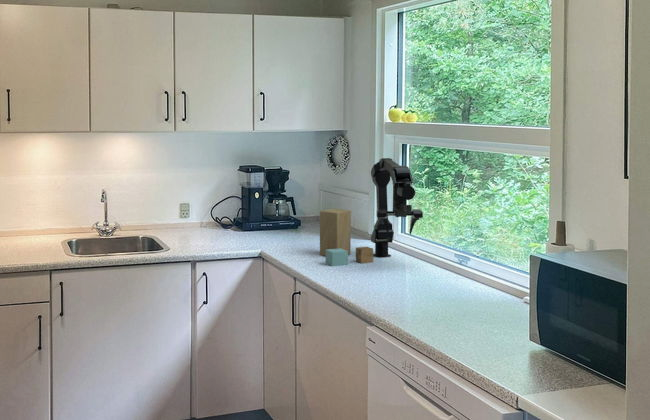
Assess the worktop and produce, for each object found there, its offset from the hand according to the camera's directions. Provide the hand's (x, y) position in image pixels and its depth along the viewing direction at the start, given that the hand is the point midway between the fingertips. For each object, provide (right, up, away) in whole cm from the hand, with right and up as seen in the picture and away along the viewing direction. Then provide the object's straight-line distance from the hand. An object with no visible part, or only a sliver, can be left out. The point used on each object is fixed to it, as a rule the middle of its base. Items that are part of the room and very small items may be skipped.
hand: (399, 234), depth 336 cm
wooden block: (-26, -10, +25) cm, 38 cm away
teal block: (-26, -13, +5) cm, 29 cm away
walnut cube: (-14, -12, +10) cm, 21 cm away
